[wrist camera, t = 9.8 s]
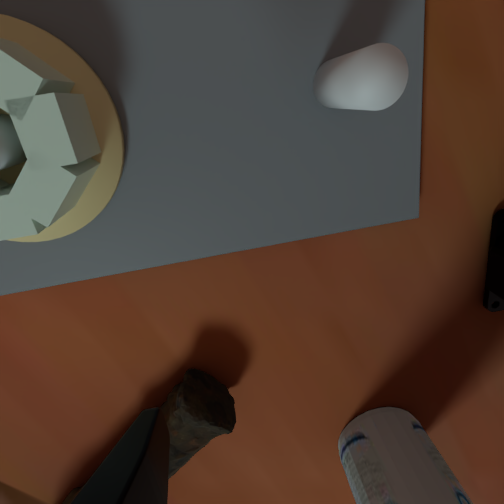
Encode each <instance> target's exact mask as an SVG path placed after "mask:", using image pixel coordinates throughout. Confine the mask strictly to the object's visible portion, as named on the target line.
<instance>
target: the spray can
mask: <svg viewBox="0 0 504 504" xmlns="http://www.w3.org/2000/svg"><path fill="white" fill-rule="evenodd" d="M338 449H339V455H340V459H341V462H342V465H343V467H344V470H345V473H346V476H347V479H348V482H349V484H350V487H351V490H352V493H353V496H354V498H355V501H356V504H473V503H472V501H471V500H470V498H469V497H468V495H467V494H466V492H465V491H464V489H463V488H462V486H461V485H460V483H459V482H458V480H457V479H456V477H455V475H454V474H453V472H452V471H451V469H450V468H449V466H448V465H447V463H446V462H445V460H444V459H443V457H442V456H441V454H440V453H439V451H438V450H437V448H436V447H435V445H434V444H433V442H432V441H431V439H430V438H429V436H428V435H427V433H426V432H425V430H424V429H423V427H422V426H421V424H420V423H419V421H418V420H417V419H415V417H414V416H413V415H412V414H410V413H409V412H408V411H405V410H403V409H400V408H394V407H383V408H377V409H373V410H370V411H367V412H365V413H363V414H361V415H359V416H357V417H356V418H355V419H353V420H352V421H351V422H350V423H349V424H348V425H347V426H346V427H345V428H344V430H343V431H342V433H341V435H340V438H339V442H338Z"/></svg>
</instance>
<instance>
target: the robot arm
mask: <svg viewBox="0 0 504 504" xmlns="http://www.w3.org/2000/svg"><path fill="white" fill-rule="evenodd" d="M503 218H504V209H501V210H499V211H497V212H496V213H495V215H494V216H493V220H492V229H491V238H490V246H489V255H488V264H487V273H486V282H485V291H484V299H483V306H484V307H485V308H486V309H488V310H489V311H491V312H496V311H501V310H504V220H503V221H502V219H503ZM493 302H494V303H493ZM492 303H493V304H492ZM169 452H170V434H169V430H168V426H167V423H166V420H165V417H164V414H163V411H162V409H161V408H160V407H155V408H150V409H145V410H143V411H142V412H141V413H140V415H139V416H138V417H137V418H136V420H135V421H134V422H133V424H132V425H131V426H130V427H129V429H128V430H127V431H126V432H125V434H124V435H123V436H122V438H121V439H120V440H119V441H118V443H117V444H116V445H115V447H114V448H113V449H112V450H111V452H110V453H109V454H108V456H107V457H106V458H105V459H104V461H103V462H102V463H101V465H100V466H99V467H98V468H97V470H96V471H95V472H94V473H93V475H92V476H91V477H90V479H89V480H88V481H87V482H86V484H85V485H84V486H83V488H82V489H81V490H80V491H79V493H78V494H77V495H76V497H75V498H74V499H73V500H72V502H71V503H70V504H167V497H168V475H169Z"/></svg>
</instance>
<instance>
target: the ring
mask: <svg viewBox="0 0 504 504" xmlns="http://www.w3.org/2000/svg"><path fill="white" fill-rule="evenodd" d="M74 84H75V83H74V82H73V81H72V80H70V79H69V78H67V77H66V76H64V75H63V74H61V73H60V72H59V71H57V70H56V69H54V68H53V67H51V66H50V65H48V64H47V63H46V62H44V61H43V60H41V59H40V58H38V57H37V56H35V55H34V54H32V53H31V52H30V51H28V50H27V49H25V48H24V47H22V46H21V45H19V44H18V43H16V42H13V41H9V40H6V39H3V38H0V108H1V109H3V110H4V111H6V112H7V113H9V114H10V117H11V119H12V122H13V124H14V127H15V129H16V132H17V134H18V137H19V140H20V142H21V145H22V147H23V150H24V152H25V155H26V158H27V161H26V163H25V165H24V167H23V169H22V171H21V172H20V174H19V176H18V178H17V180H16V182H15V183H13V184H9V183H7V182H5V181H3V180H2V179H0V241H2V240H8V239H14V238H19V237H25V236H31V235H36V234H39V233H40V232H41V231H43V230H44V229H45V228H47V227H49V226H50V225H52V224H53V223H54V222H56V221H57V220H58V219H59V218H61V217H62V216H63V215H65V214H66V213H67V212H68V211H70V210H71V209H72V208H74V207H75V206H76V204H77V202H78V201H79V199H80V197H81V196H82V194H83V192H84V190H85V189H86V187H87V185H88V184H89V182H90V180H91V179H92V177H93V175H94V173H95V172H96V170H97V168H98V167H99V165H100V163H99V162H97V161H96V160H94V159H93V158H91V157H92V156H95V155H97V154H99V153H101V150H100V146H99V143H98V140H97V137H96V133H95V130H94V127H93V124H92V120H91V117H90V114H89V111H88V107H87V104H86V101H85V98H84V95H83V94H72V93H70V92H71V90H72V88H73V86H74Z"/></svg>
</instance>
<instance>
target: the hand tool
mask: <svg viewBox="0 0 504 504" xmlns="http://www.w3.org/2000/svg"><path fill="white" fill-rule="evenodd" d="M234 403H235V402H234V398H233V397H232V396H231V395H230V394H229V391H228V389H227V387H226V386H225V385H223V384H221V383H220V382H218V381H217V380H216V379H215V378H214V377H212V376H210V375H209V374H207V373H205V372H203V371H200V370H197V369H188V370H187V371H186V373H185V375H184V378H183V382H182V383H181V384H178V385H175V387H174V388H173V391H172V392H171V393H169V394H168V397H167V401H166V402H165V403H164V404H163V405H162V406H161V407H160V408H161V409H162V411H163V414H164V417H165V420H166V423H167V426H168V430H169V434H170V452H169V475H168V479H169V478H170V477H171V476H173V475H174V474H175V473H176V472H177V471H178V470H179V469H180V468H181V467H182V466H183V465H185V464H186V463H187V462H188V461H189V460H190V458H191V457H192V456H194V454H195V453H196V452H198V451H199V450H200V449H202V448H203V447H205V445H207V444H208V443H209V441H210V440H211V439H213V438H215V437H216V436H219V435H221V434H226V433H227V434H229V433H231V432H232V430H233V429H234V426H235V423H236V415H235V408H234ZM82 488H83V487H79V488H74V489H73V490H72V491H71V492H70V493H69V495H68V496H67V497H66V499H65V500H64V501H63V503H62V504H70V503H71V502H72V500H73V499H74V498H75V497H76V495H77V494H78V493H79V491H80V490H81V489H82Z"/></svg>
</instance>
